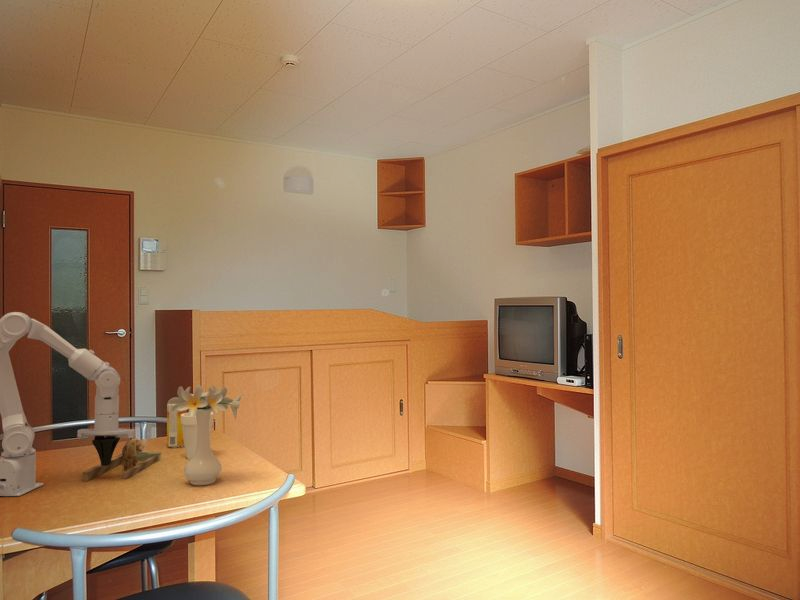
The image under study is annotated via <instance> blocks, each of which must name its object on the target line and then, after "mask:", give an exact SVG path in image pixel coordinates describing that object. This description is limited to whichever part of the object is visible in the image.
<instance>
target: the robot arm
mask: <svg viewBox="0 0 800 600" xmlns="http://www.w3.org/2000/svg"><path fill="white" fill-rule="evenodd" d="M27 334H28V335H27ZM26 335H27V336H26ZM25 336H26V338H27V339H32V340H39V341H41V342H43V343H44V344H46V345H48V346H49V347H50V348H52V349H54V350H55V351H56V352H57V353H60V354H61V355H62V356H63V357H65V358H67V361H68V367H70V368H71V369H73V370H75V372H77V373H79V374H80V375H82V376H83V377H84V378H85V379H86V380H88V381H94V384H95V386H96V388H95V389H96V391H95V394H96V395H95V396H94V426H93V427H94V428H81V429H78V430H77V435H76V437H77V438H81V439H82V438H94V439H92V440H91V441H92V442H91V443H92V446H93V447H94V448H95V450H96V452H97V454H98V457H99V460H100V464H101V466H107V465H109V464H110V463H111V459H112V458H113V455H114V452H115V450H116V447H117V445H118V444H119V441H120V440H121V438H125V439H126V438H128V439H133V438H135V437H136V429H133V428H132V429H128V428H121V427H120V428H119V423H120V422H119V421H120V420H119V413H120V408H119V407H120V395H119V392H120V390H119V386H120V384H121V382H122V381H121V377H120V374H119V372H118V371H117V370H116V369H115V368H114V367H112V366H111V365H110V362H107V361H103V360H102V359H101V358H99V357H98V356H97V355H95V351H94V350H92V349H87V348H76V347H75V346H73V345H72V344H71V343H70V342H68V341H67V340H66V339H64V338H63V337H62V336H61V335H59V334H58V333H57V332H55V331H54V329H51V328H50V327H49V326H48V325H46V324H45V323H42V322H40V321H38V320H37V319H35V318H31V317H30V316H29V315H28V314H26V313H24V312H21V311H20V312H19V311H18V312H17V311H13V312H12V311H11V312H8V313H6V314H4V315H3V316H2V317H1V318H0V416H1V417H0V418H1V422H2V423H1V424H2V432H3V438H2V441H1V446H2V450H3V451H1V456H0V497H20V496H22V495H24V494H27V493H29V492H31V491H33V490H36V489H38V488H39V487H42V486H44V483H43V482H36V475H37V473H36V472H37V469H36V468H37V467H36V466H37V463H36V461H37V460H36V459H37V456H36V455H37V450H36V449H35V448H34V447H33V444H34V440H35V438H36V436H35V435H36V434H35V433H36V432H35V430H34V428H33V427H32V426H31V425H30V424H29V423H28V419H27V417H26V415H25V412H24V407H23V405H22V401H21V397H20V392H19V389H18V385H17V381H16V377H15V374H14V373H15V372H14V369H13V365H12V362H11V357H10V353H9V352H10V350H11V349H12V348H13V346H14V345H15V344H16V343H17V341H18V340H20V339H21V338H23V337H25Z"/></svg>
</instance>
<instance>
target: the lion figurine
mask: <svg viewBox="0 0 800 600" xmlns="http://www.w3.org/2000/svg"><path fill="white" fill-rule="evenodd" d="M144 448H145V446H144V445H143V444H141V442H139V439H138V438H135V437H133V438H129V439H128V440H127V441H126V442H125V444H124V446H122V449H121V454H122V455H123V463H122V464H121V466H122V467H123V468H122V471H123V472H125V471H126V470H128V469H129V468H128V461H127V460H133V461H132V464H131V468H132V467H134V466H136V465H137V462H138V461H137V455H138V452H140V453H141V452H142V451H143V450H144Z"/></svg>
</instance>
